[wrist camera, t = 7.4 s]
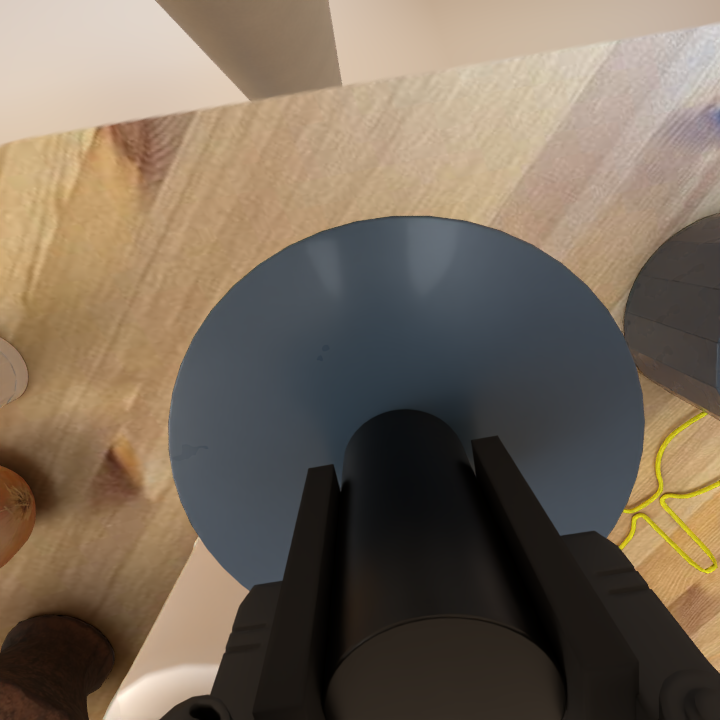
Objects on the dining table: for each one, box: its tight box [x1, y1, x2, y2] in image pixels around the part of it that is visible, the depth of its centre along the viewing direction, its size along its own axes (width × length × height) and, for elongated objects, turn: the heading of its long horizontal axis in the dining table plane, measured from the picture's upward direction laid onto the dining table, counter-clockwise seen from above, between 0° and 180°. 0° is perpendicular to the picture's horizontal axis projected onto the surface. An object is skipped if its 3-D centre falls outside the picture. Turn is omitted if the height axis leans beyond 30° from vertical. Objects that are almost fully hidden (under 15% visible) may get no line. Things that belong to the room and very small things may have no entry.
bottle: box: [103, 536, 250, 720], centre depth 28 cm, size 14×14×28 cm
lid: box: [168, 216, 645, 720], centre depth 11 cm, size 16×16×9 cm
